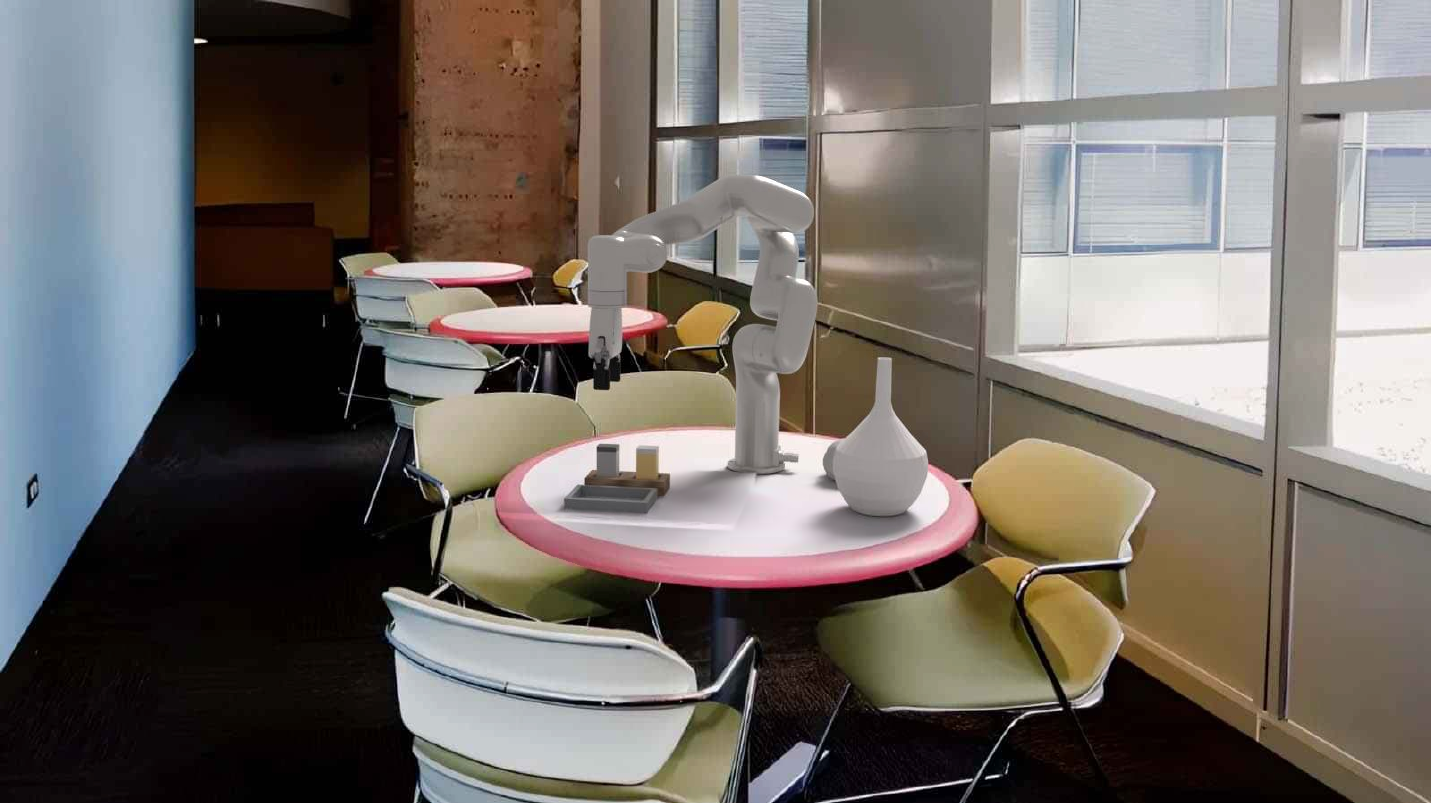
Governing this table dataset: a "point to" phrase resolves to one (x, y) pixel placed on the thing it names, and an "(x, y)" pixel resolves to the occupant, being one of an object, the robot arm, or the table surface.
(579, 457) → the table surface
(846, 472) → the vase
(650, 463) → the block
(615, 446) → the block
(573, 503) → the parts tray
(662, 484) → the block
